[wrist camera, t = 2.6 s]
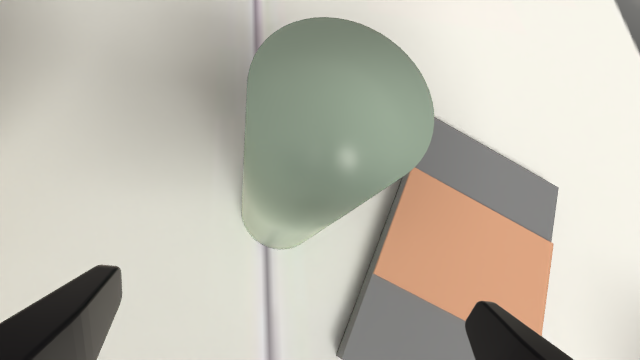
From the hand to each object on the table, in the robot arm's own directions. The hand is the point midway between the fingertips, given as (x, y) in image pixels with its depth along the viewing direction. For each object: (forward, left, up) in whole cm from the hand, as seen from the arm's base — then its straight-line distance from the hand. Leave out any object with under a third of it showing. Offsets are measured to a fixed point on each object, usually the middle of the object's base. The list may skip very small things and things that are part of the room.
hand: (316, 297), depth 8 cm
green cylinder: (+4, -2, -11) cm, 12 cm away
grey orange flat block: (-3, -13, -11) cm, 18 cm away
